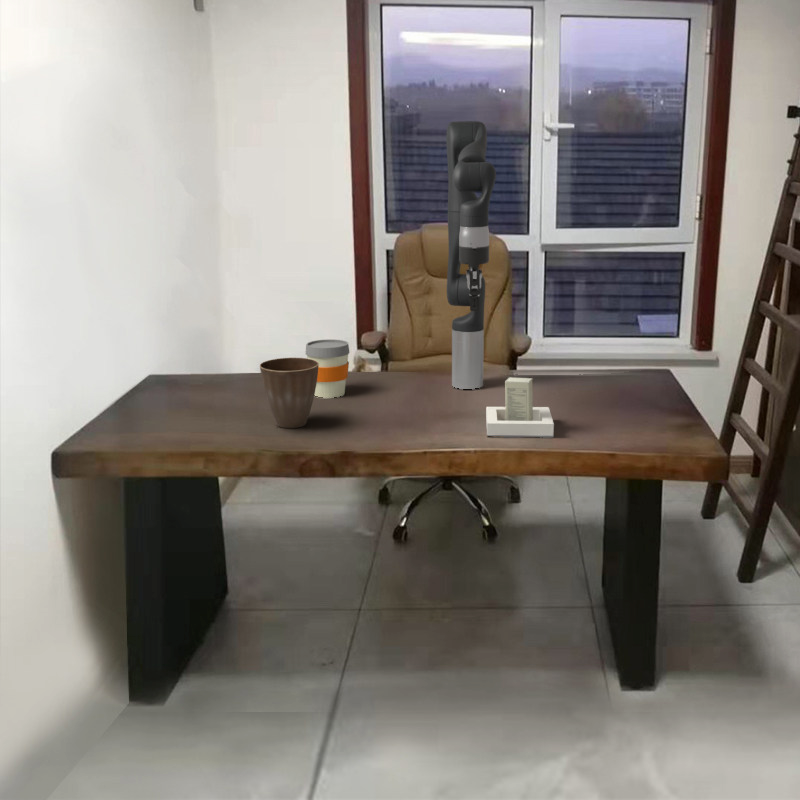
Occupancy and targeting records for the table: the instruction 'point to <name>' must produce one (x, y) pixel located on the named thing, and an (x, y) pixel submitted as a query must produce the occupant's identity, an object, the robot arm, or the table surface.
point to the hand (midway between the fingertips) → (474, 307)
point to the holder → (519, 424)
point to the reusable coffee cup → (330, 366)
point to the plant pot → (290, 389)
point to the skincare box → (519, 399)
